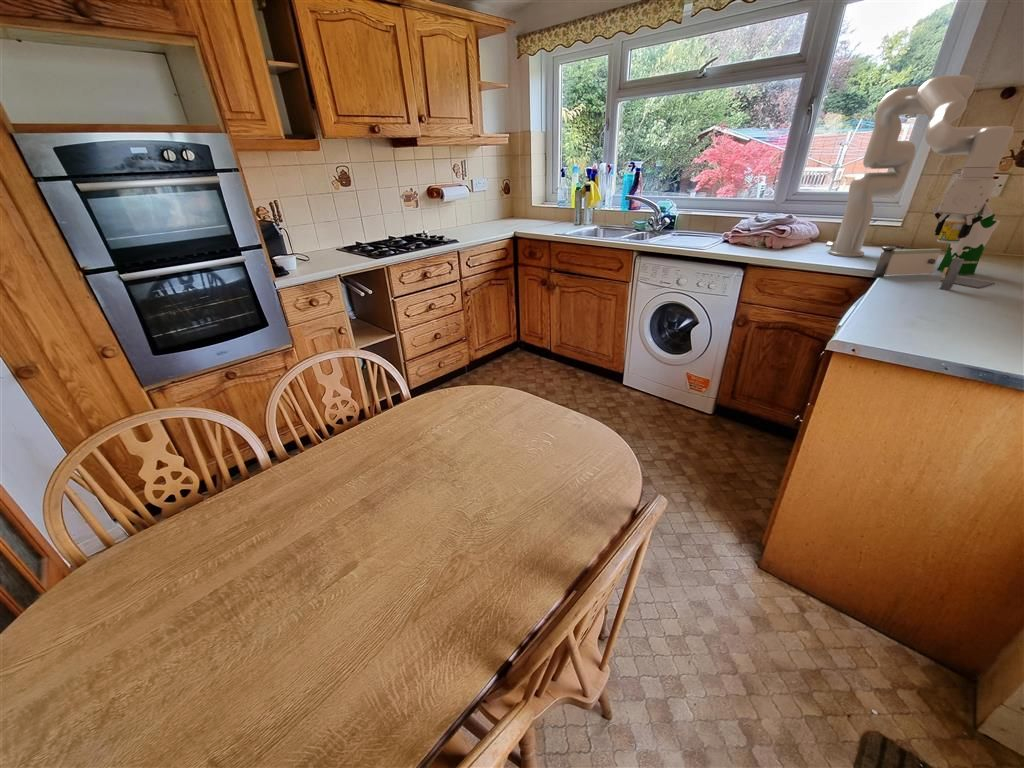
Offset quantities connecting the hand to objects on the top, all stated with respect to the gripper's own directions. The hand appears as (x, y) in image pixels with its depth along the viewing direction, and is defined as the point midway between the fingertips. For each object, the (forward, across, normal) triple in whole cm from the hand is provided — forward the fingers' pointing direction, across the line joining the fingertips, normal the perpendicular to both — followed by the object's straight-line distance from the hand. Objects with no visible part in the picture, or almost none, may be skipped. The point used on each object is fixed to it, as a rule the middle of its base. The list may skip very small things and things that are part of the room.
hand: (950, 235), depth 138 cm
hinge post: (+15, -13, -6) cm, 21 cm away
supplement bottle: (+2, 0, 0) cm, 2 cm away
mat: (+15, +6, +9) cm, 18 cm away
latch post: (+15, +7, -5) cm, 17 cm away
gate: (+15, -8, +3) cm, 17 cm away
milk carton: (+15, -3, +22) cm, 27 cm away
